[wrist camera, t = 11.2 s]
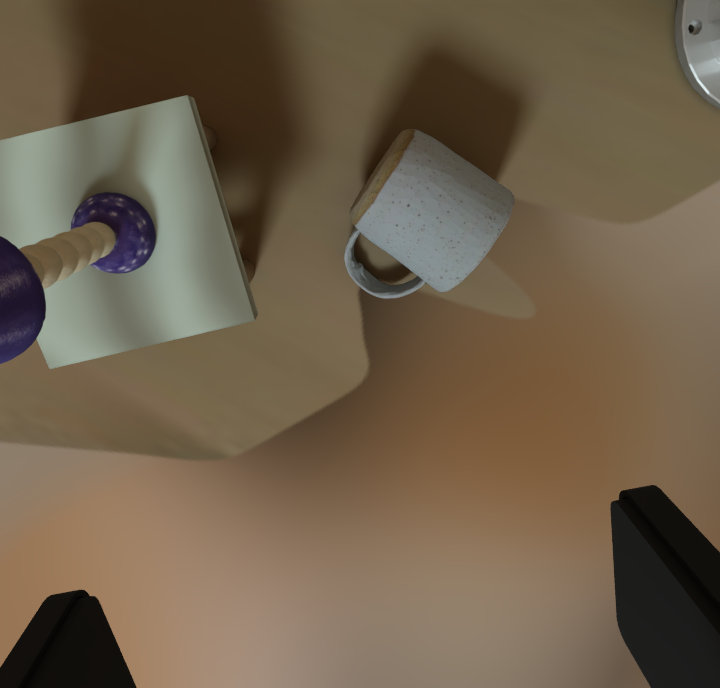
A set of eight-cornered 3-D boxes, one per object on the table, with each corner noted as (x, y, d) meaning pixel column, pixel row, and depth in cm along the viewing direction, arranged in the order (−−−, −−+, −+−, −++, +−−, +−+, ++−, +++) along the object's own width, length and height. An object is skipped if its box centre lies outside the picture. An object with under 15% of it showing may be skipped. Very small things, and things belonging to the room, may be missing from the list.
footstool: (219, 109, 37) (187, 95, 28) (269, 286, 41) (254, 320, 32) (40, 152, 37) (-45, 151, 29) (107, 324, 41) (49, 369, 32)
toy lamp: (178, 257, 31) (13, 360, 15) (107, 299, 31) (-126, 442, 15) (124, 176, 29) (-122, 194, 13) (51, 221, 30) (-269, 291, 14)
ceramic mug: (399, 121, 38) (415, 114, 31) (496, 189, 40) (533, 199, 32) (316, 255, 40) (312, 279, 33) (410, 314, 42) (426, 349, 35)
